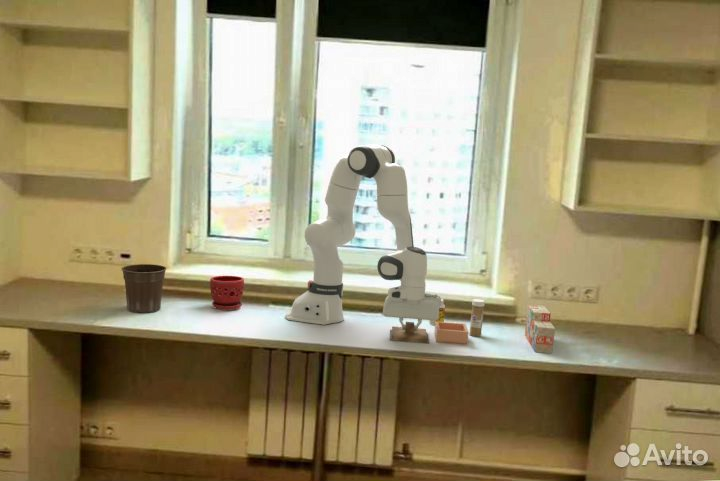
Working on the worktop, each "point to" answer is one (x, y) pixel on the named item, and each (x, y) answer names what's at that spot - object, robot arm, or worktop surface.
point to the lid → (409, 334)
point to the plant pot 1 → (143, 287)
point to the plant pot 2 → (227, 292)
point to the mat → (407, 341)
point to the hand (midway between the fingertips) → (409, 330)
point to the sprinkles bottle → (476, 317)
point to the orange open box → (451, 333)
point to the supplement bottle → (441, 314)
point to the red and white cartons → (539, 329)
